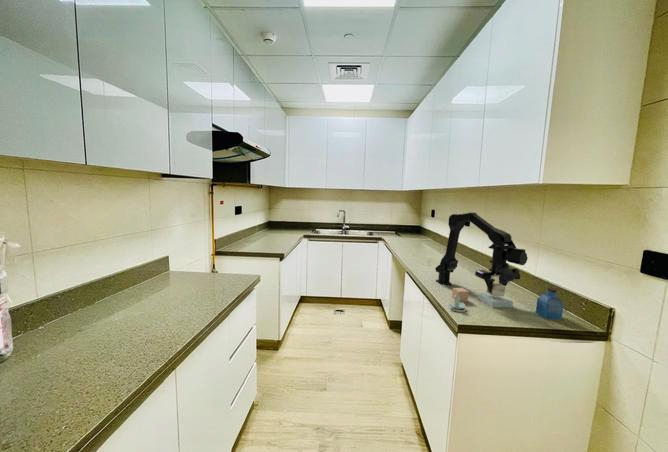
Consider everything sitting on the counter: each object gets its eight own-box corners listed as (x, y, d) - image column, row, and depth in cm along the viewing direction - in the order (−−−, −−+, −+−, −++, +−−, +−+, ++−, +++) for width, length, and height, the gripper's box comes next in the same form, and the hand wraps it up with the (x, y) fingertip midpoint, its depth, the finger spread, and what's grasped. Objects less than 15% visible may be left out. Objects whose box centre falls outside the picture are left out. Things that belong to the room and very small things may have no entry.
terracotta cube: (451, 297, 129) (452, 287, 129) (461, 297, 130) (462, 287, 129) (457, 301, 124) (458, 291, 124) (467, 301, 125) (468, 291, 124)
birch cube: (486, 292, 127) (487, 282, 126) (496, 292, 127) (497, 282, 127) (494, 296, 122) (495, 285, 121) (504, 296, 122) (505, 285, 122)
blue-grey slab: (477, 299, 129) (478, 293, 129) (496, 299, 130) (497, 293, 130) (491, 308, 119) (492, 301, 119) (512, 307, 120) (513, 301, 120)
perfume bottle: (550, 313, 115) (554, 286, 114) (561, 319, 109) (565, 291, 108) (535, 312, 116) (539, 285, 115) (545, 318, 110) (549, 290, 108)
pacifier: (469, 312, 114) (459, 305, 120) (471, 298, 113) (461, 292, 119) (455, 313, 112) (446, 307, 118) (457, 299, 111) (447, 294, 117)
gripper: (492, 264, 113) (488, 299, 115) (532, 264, 115) (527, 298, 117) (476, 257, 124) (472, 289, 126) (512, 258, 126) (508, 289, 128)
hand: (495, 292), depth 124 cm, fingers closed on birch cube, 5 cm apart
